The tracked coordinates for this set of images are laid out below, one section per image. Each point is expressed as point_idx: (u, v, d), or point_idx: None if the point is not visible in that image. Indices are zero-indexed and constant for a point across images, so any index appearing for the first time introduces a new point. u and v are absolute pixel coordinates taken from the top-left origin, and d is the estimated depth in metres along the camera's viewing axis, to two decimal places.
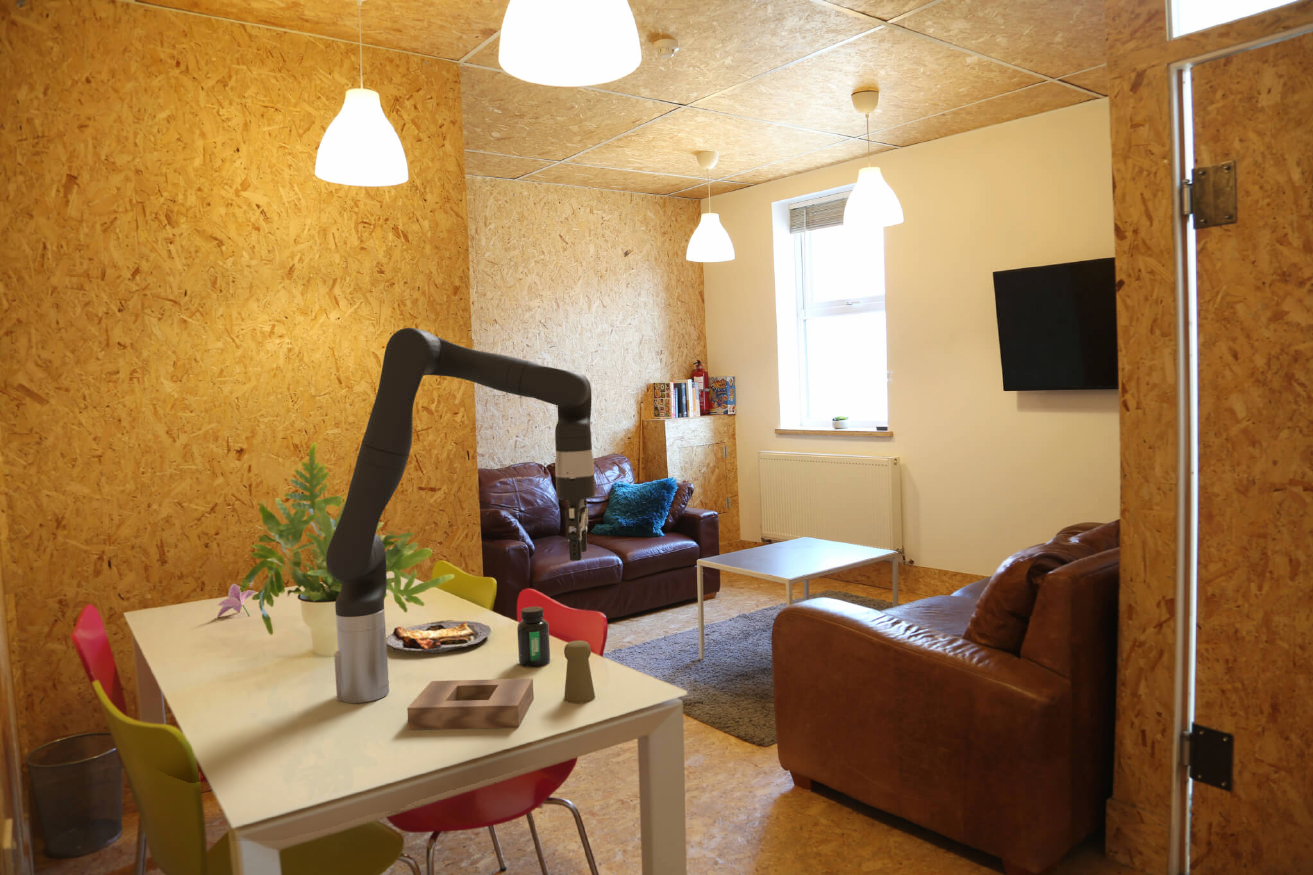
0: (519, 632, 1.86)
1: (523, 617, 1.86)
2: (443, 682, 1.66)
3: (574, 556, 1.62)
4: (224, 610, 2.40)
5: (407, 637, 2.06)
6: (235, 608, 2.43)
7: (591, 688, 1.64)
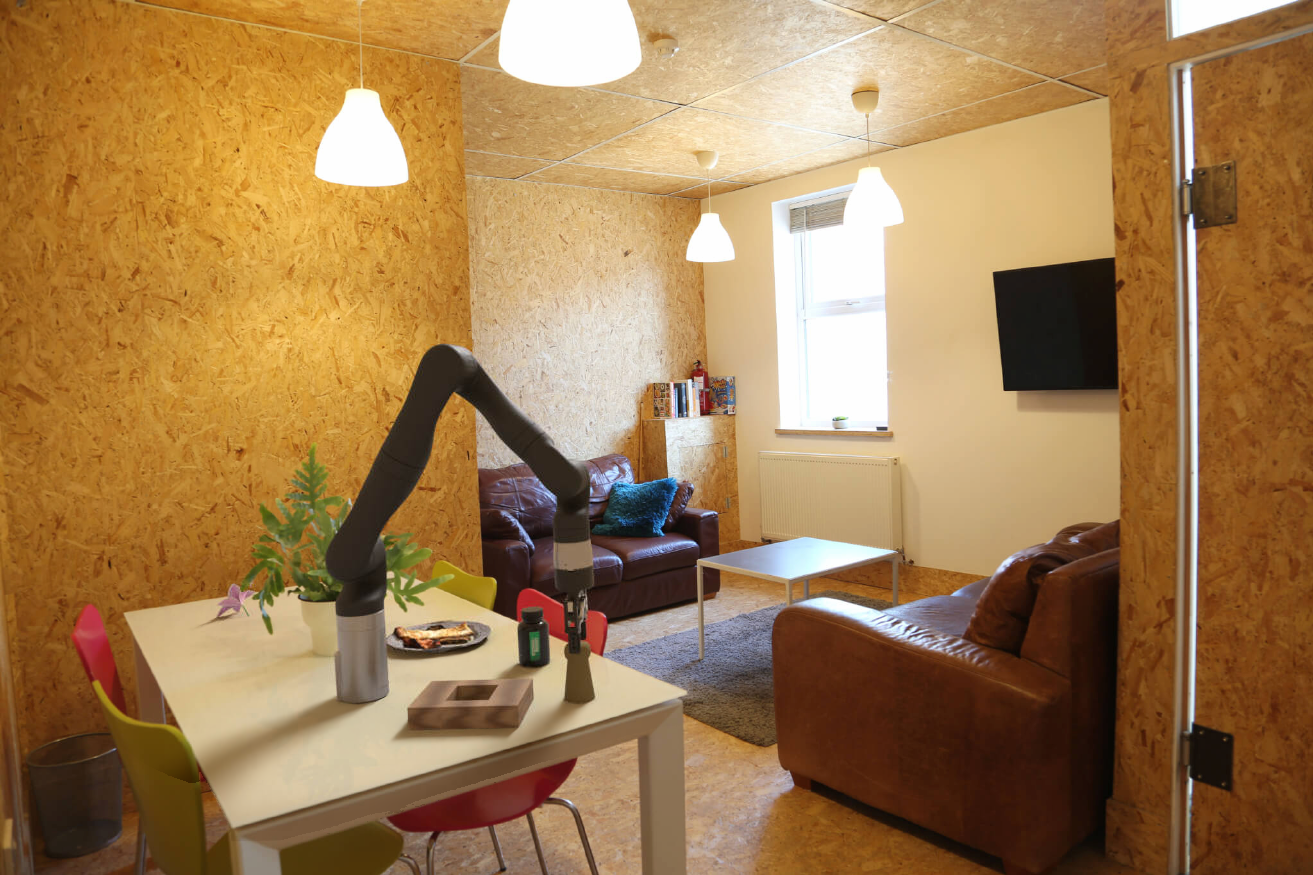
0: (519, 632, 1.86)
1: (523, 617, 1.86)
2: (443, 682, 1.66)
3: (573, 649, 1.60)
4: (223, 610, 2.40)
5: (407, 637, 2.06)
6: (234, 608, 2.43)
7: (591, 688, 1.64)
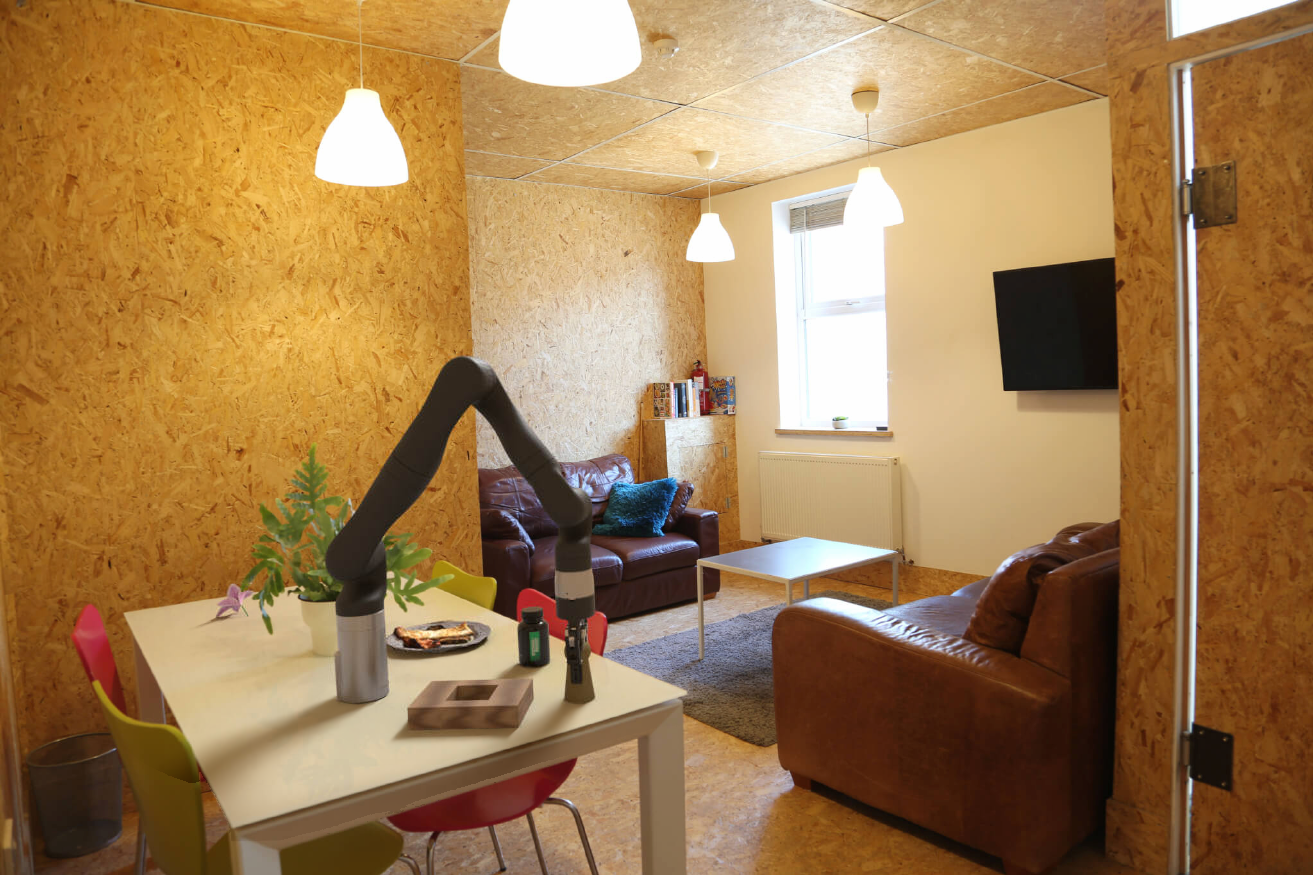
0: (519, 632, 1.86)
1: (523, 617, 1.86)
2: (443, 682, 1.66)
3: (575, 680, 1.62)
4: (222, 610, 2.40)
5: (407, 637, 2.06)
6: (234, 608, 2.43)
7: (591, 688, 1.64)
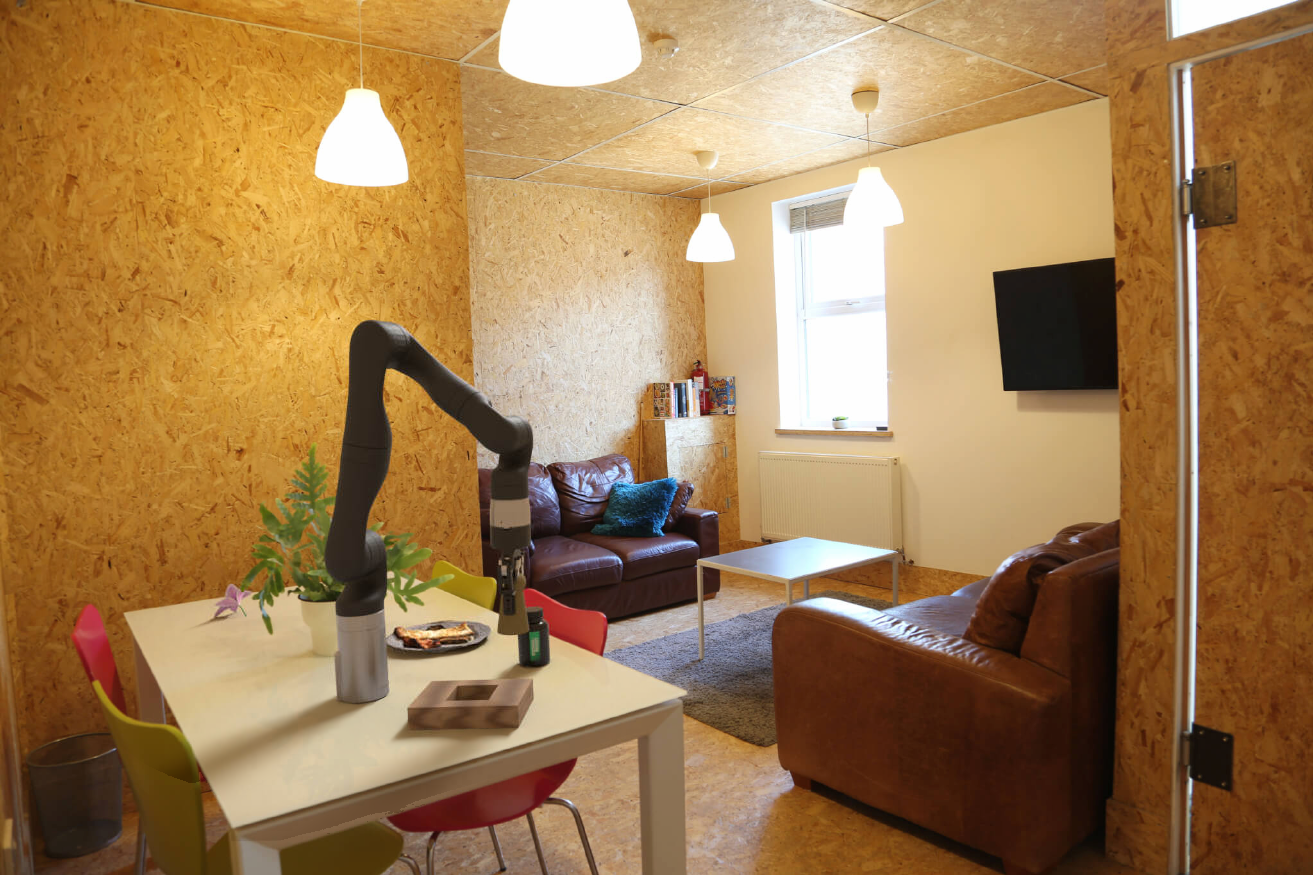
0: None
1: None
2: (443, 682, 1.66)
3: (508, 611, 1.58)
4: (220, 610, 2.40)
5: (407, 637, 2.06)
6: (232, 608, 2.43)
7: (525, 620, 1.60)
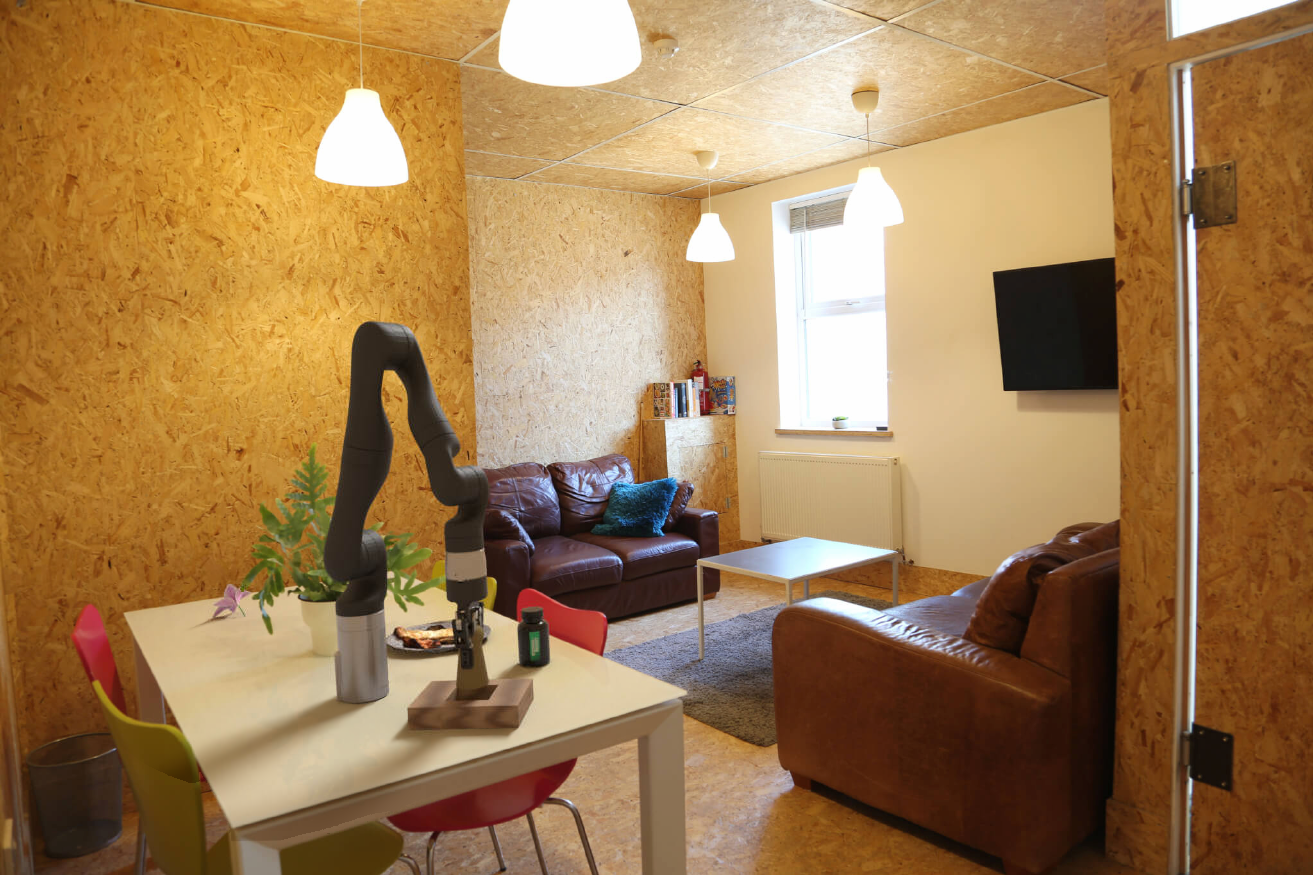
0: (519, 632, 1.86)
1: (523, 617, 1.86)
2: (443, 682, 1.66)
3: (465, 665, 1.55)
4: (219, 611, 2.40)
5: (407, 637, 2.06)
6: (230, 608, 2.43)
7: (484, 673, 1.58)
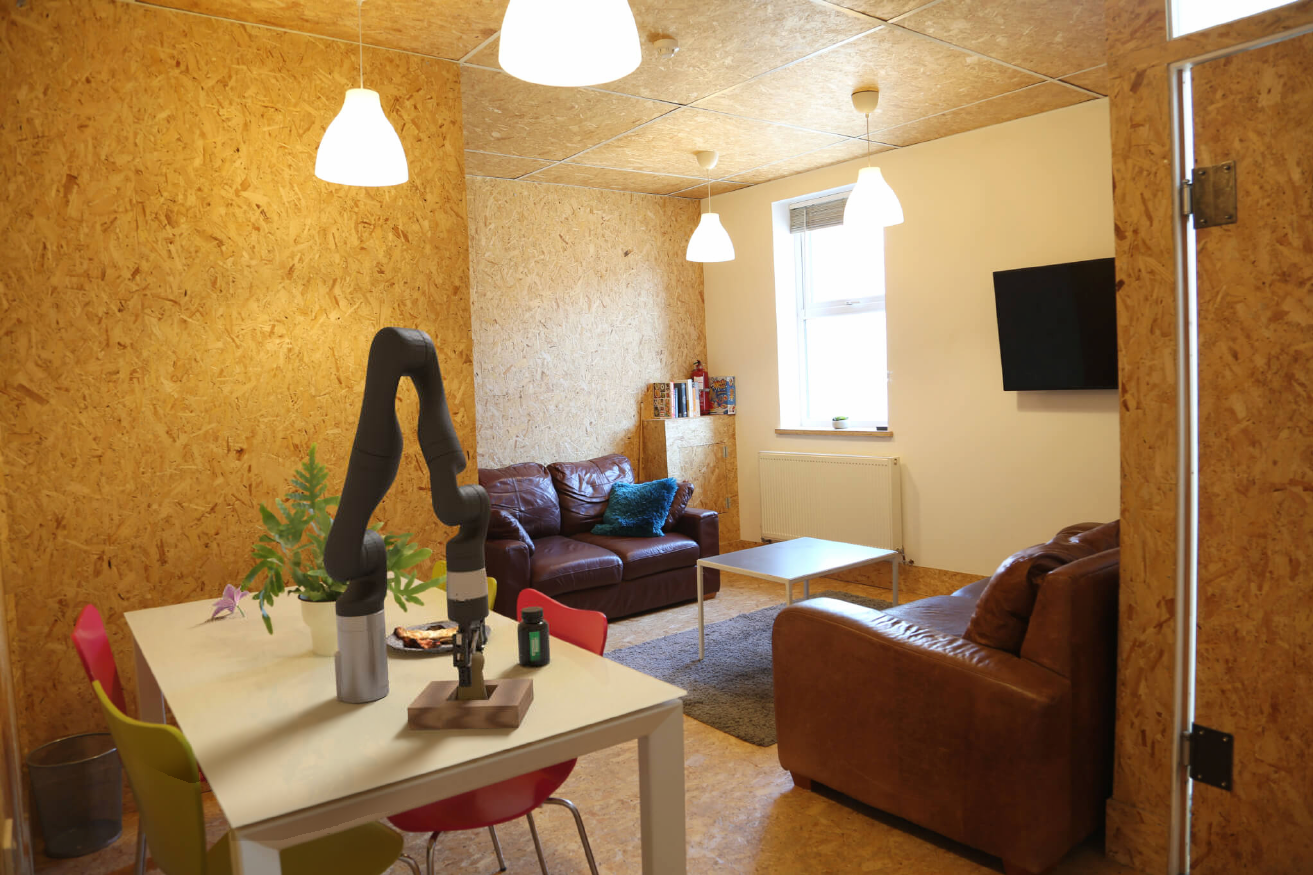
0: (519, 632, 1.86)
1: (523, 617, 1.86)
2: (443, 682, 1.66)
3: (463, 683, 1.54)
4: (218, 611, 2.40)
5: (407, 637, 2.06)
6: (229, 609, 2.43)
7: None
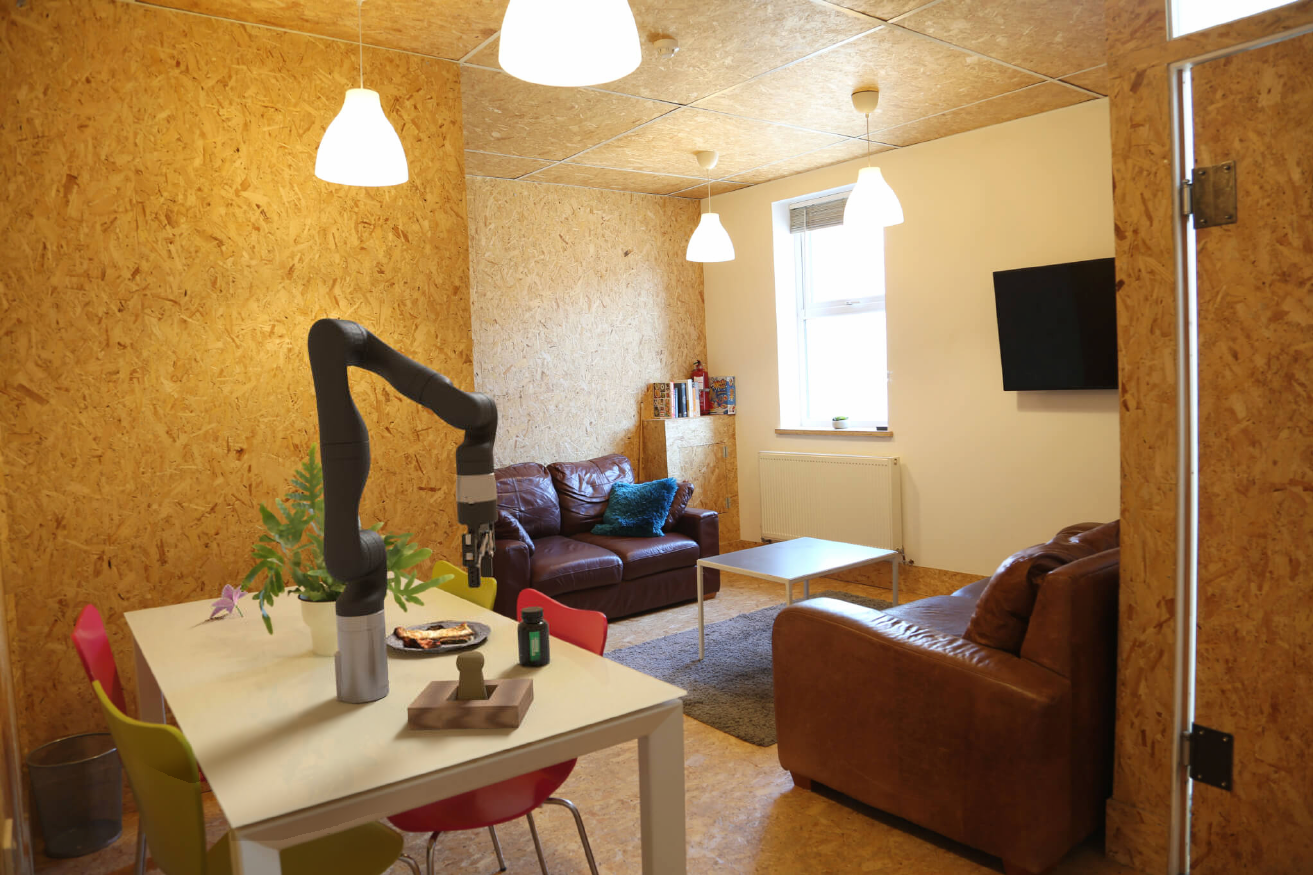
0: (519, 632, 1.86)
1: (523, 617, 1.86)
2: (443, 682, 1.66)
3: (472, 583, 1.57)
4: (216, 611, 2.40)
5: (407, 637, 2.06)
6: (227, 609, 2.43)
7: None
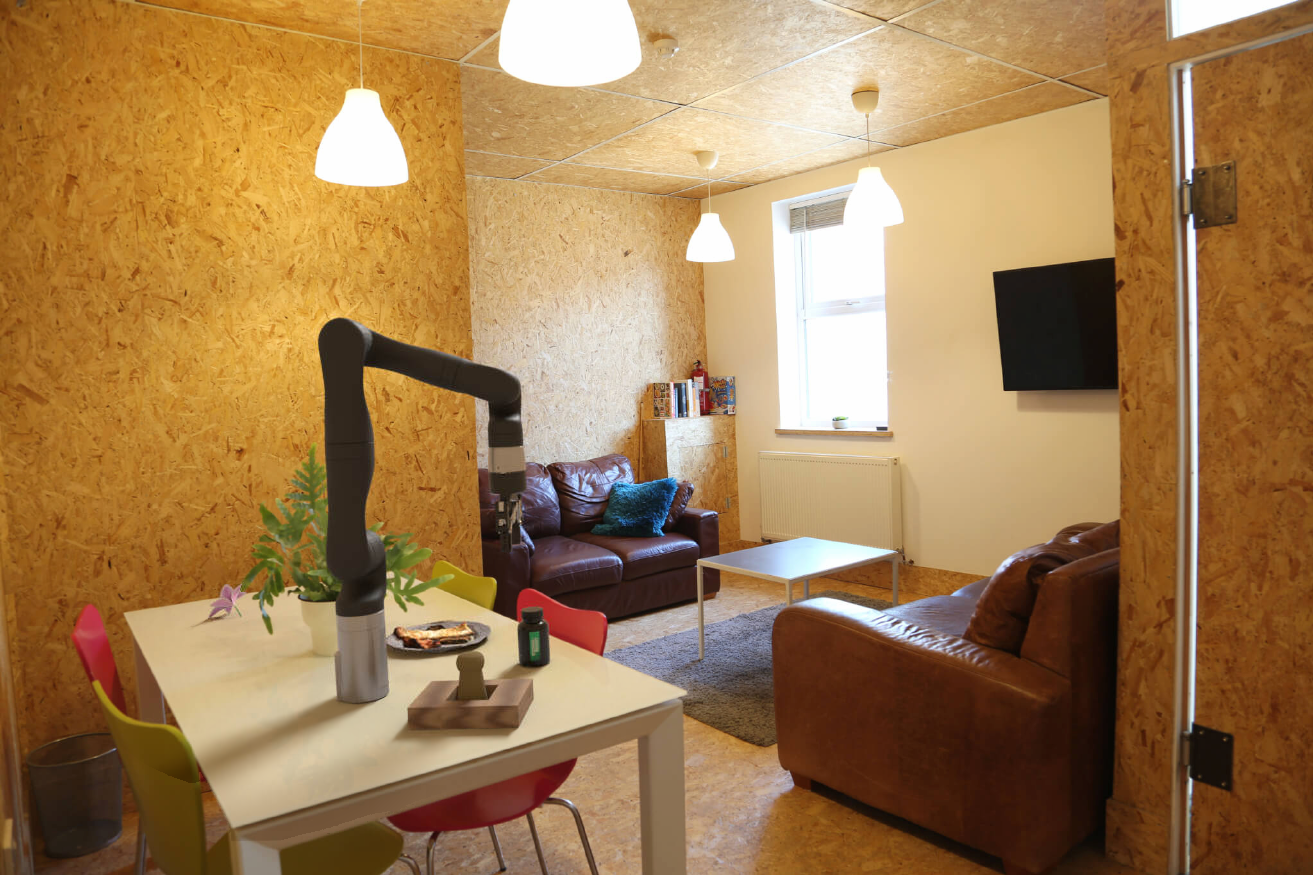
0: (519, 632, 1.86)
1: (523, 617, 1.86)
2: (443, 682, 1.66)
3: (504, 548, 1.68)
4: (215, 611, 2.40)
5: (407, 637, 2.06)
6: (226, 609, 2.42)
7: None
